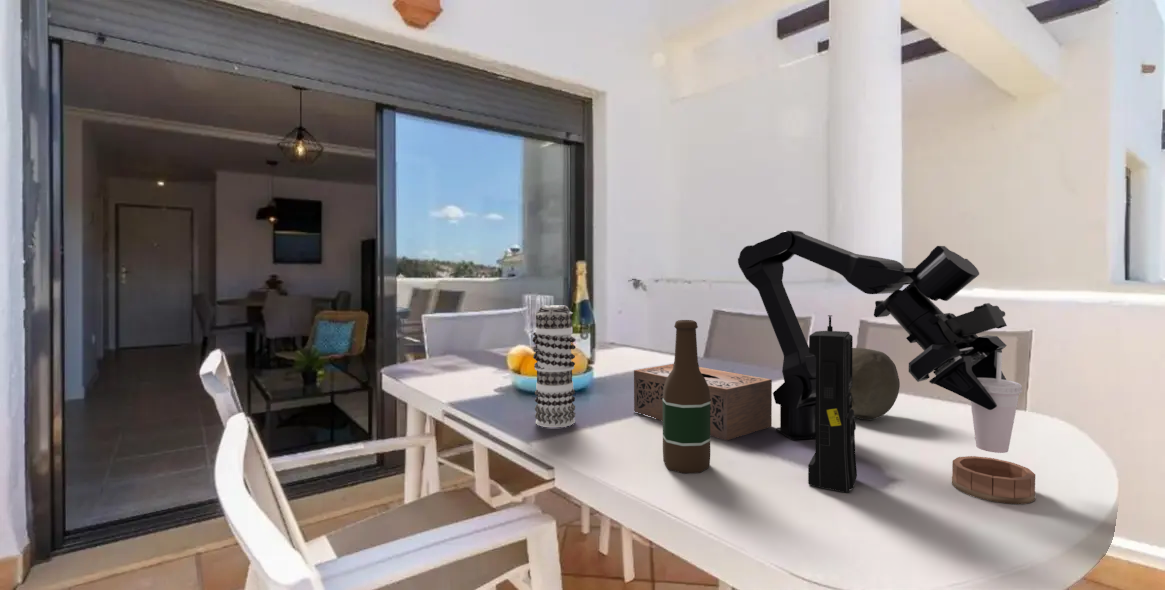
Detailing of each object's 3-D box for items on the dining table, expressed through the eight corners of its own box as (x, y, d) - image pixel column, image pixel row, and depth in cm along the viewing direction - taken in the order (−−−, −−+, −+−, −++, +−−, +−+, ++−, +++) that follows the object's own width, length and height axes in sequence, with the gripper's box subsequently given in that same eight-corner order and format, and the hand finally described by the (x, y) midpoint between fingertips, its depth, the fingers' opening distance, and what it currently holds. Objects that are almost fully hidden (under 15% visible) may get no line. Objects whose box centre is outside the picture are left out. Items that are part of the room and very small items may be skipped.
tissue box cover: (634, 413, 122) (633, 370, 122) (678, 404, 131) (677, 363, 130) (726, 441, 101) (726, 389, 101) (771, 427, 110) (771, 379, 110)
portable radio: (852, 497, 76) (854, 320, 74) (806, 488, 79) (807, 318, 78) (857, 478, 82) (859, 316, 81) (815, 471, 85) (816, 314, 84)
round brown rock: (915, 426, 109) (916, 352, 108) (845, 426, 109) (846, 353, 109) (878, 408, 123) (878, 343, 122) (816, 409, 123) (816, 344, 123)
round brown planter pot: (992, 506, 72) (993, 482, 72) (935, 479, 82) (936, 458, 81) (1054, 501, 74) (1054, 477, 73) (991, 475, 83) (991, 454, 83)
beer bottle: (712, 460, 91) (712, 319, 90) (707, 476, 84) (707, 323, 83) (666, 455, 94) (666, 318, 93) (658, 471, 86) (657, 322, 85)
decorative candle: (524, 424, 113) (522, 306, 112) (551, 414, 121) (550, 304, 120) (559, 431, 108) (557, 307, 107) (585, 420, 116) (583, 305, 115)
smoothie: (1019, 459, 73) (1022, 357, 72) (961, 449, 77) (964, 353, 76) (1021, 447, 78) (1024, 351, 77) (967, 438, 82) (969, 347, 81)
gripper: (934, 287, 75) (1029, 380, 66) (992, 284, 85) (1082, 364, 76) (876, 337, 82) (954, 427, 73) (936, 329, 92) (1012, 407, 83)
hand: (1004, 405), depth 76 cm, fingers closed on smoothie, 6 cm apart
